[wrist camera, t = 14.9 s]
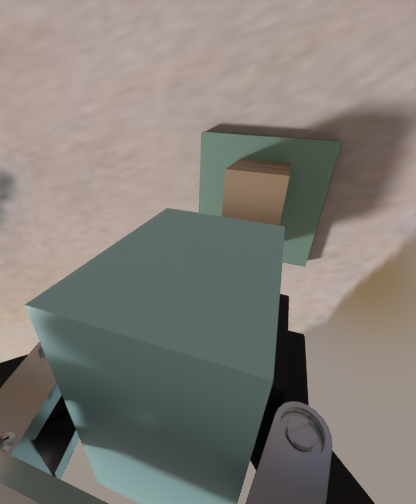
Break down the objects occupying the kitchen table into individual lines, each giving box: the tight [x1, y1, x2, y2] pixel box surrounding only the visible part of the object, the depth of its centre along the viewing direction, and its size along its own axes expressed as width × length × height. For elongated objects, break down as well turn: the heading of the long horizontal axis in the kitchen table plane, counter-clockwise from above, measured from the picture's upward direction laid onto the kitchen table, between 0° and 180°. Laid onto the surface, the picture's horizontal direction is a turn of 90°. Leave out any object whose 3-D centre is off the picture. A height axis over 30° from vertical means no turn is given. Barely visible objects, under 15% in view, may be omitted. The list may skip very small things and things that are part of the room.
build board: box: [199, 131, 342, 267], centre depth 25 cm, size 12×12×1 cm
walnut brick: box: [222, 159, 290, 225], centre depth 21 cm, size 8×4×6 cm, turn 177°
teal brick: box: [25, 208, 285, 504], centre depth 8 cm, size 8×4×6 cm, turn 177°
